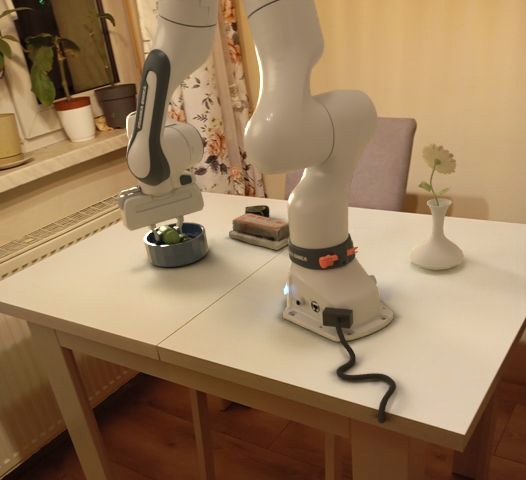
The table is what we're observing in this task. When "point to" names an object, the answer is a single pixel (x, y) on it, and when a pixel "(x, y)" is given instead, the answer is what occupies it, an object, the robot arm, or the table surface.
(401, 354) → the table surface
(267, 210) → the tape measure
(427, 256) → the flower in vase
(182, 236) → the zucchini
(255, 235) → the packaged product
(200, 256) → the bowl
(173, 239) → the pale zucchini
